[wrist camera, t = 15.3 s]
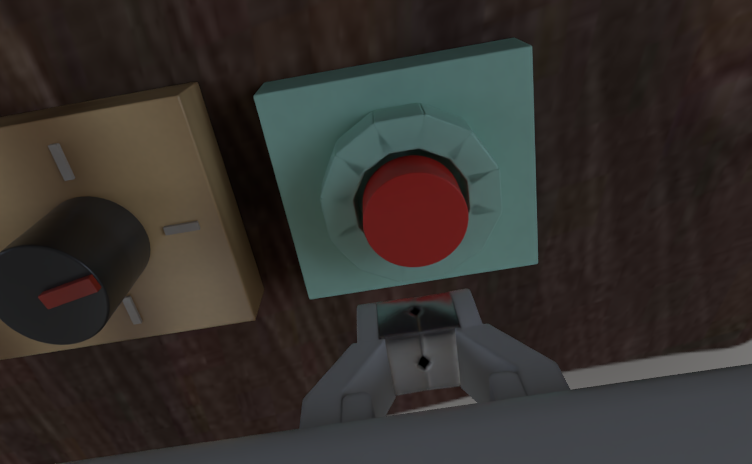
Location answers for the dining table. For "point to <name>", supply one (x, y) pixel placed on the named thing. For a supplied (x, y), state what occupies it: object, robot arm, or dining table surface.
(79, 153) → the dimmer panel
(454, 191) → the power button
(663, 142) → the dining table surface
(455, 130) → the switch block
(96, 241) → the dimmer knob
